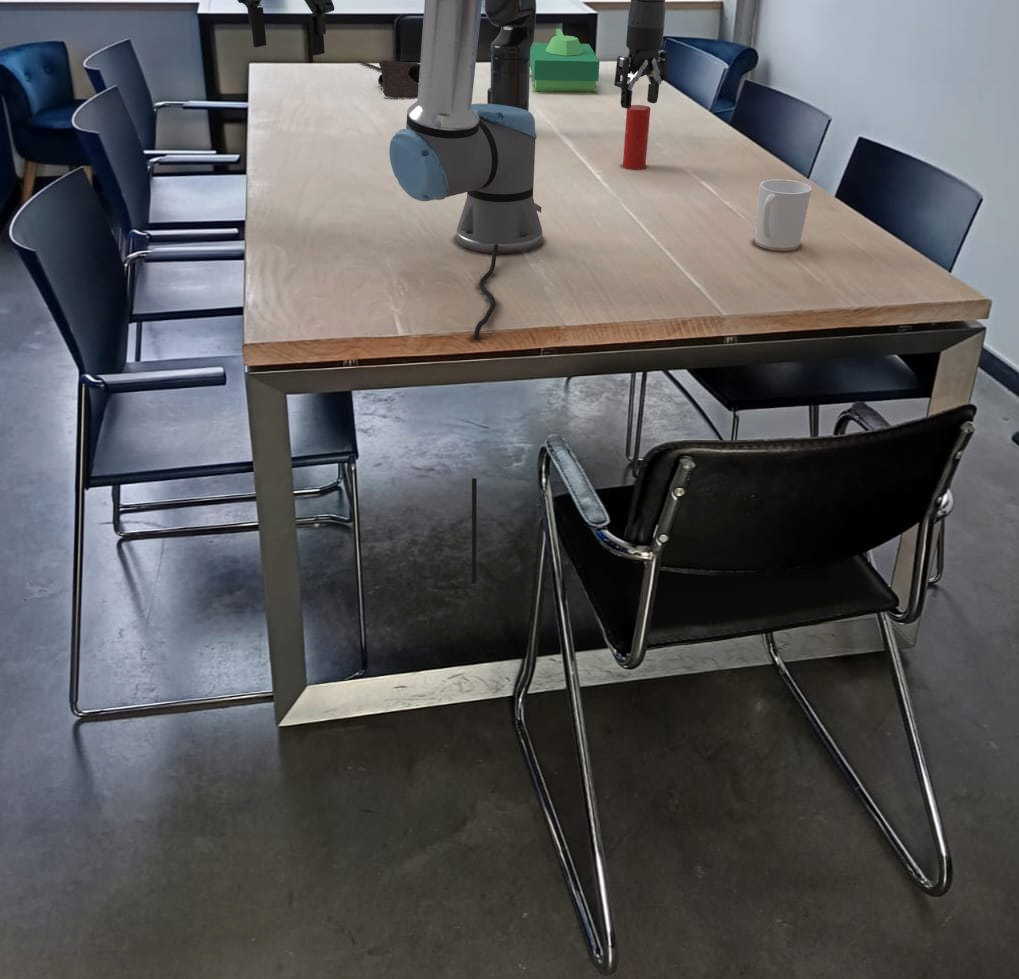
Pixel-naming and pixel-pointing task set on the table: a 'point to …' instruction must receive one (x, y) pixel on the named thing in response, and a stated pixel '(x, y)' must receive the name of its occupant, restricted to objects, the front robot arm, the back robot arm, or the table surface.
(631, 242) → the table surface
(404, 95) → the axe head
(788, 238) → the mug
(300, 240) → the table surface
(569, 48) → the toy tank
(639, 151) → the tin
